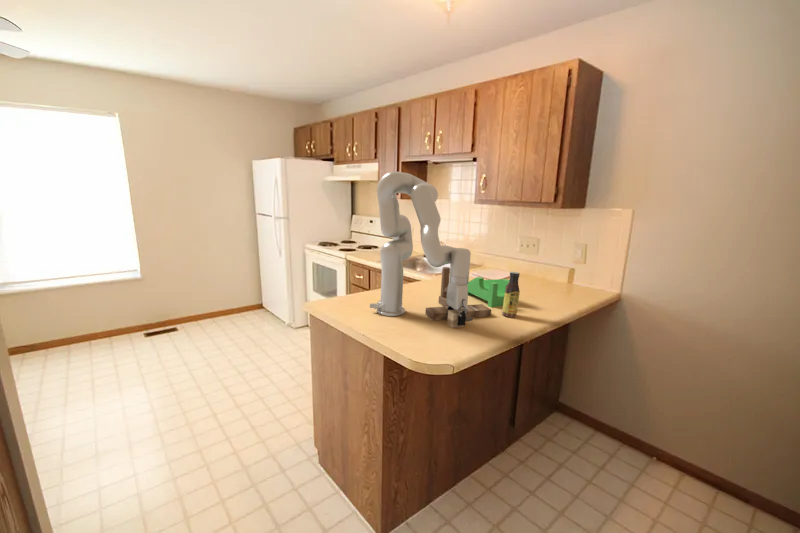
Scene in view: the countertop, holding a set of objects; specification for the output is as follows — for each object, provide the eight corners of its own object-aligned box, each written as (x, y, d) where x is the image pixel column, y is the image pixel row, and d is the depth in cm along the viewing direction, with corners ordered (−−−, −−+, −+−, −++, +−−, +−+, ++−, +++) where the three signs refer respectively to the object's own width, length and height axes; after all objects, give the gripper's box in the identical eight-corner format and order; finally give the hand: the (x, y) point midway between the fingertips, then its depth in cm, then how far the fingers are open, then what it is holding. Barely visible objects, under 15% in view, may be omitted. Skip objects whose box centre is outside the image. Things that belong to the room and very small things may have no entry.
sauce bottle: (508, 318, 155) (513, 274, 151) (498, 314, 160) (503, 271, 156) (519, 317, 158) (525, 273, 154) (509, 312, 163) (514, 270, 159)
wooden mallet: (450, 309, 163) (453, 271, 160) (438, 303, 173) (440, 267, 169) (457, 309, 165) (460, 271, 161) (444, 302, 174) (447, 266, 171)
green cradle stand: (512, 305, 175) (515, 282, 173) (491, 308, 170) (493, 284, 167) (483, 292, 196) (485, 271, 194) (462, 294, 191) (464, 272, 188)
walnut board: (432, 320, 148) (433, 313, 148) (425, 314, 156) (425, 307, 155) (490, 316, 157) (491, 309, 156) (481, 310, 164) (481, 303, 164)
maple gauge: (452, 328, 141) (453, 313, 140) (447, 324, 145) (448, 310, 144) (474, 326, 144) (475, 312, 143) (468, 322, 148) (470, 308, 147)
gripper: (441, 275, 147) (438, 314, 150) (460, 285, 131) (457, 329, 134) (457, 274, 149) (454, 313, 153) (478, 284, 133) (474, 328, 137)
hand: (455, 320), depth 144 cm, fingers open, 8 cm apart
